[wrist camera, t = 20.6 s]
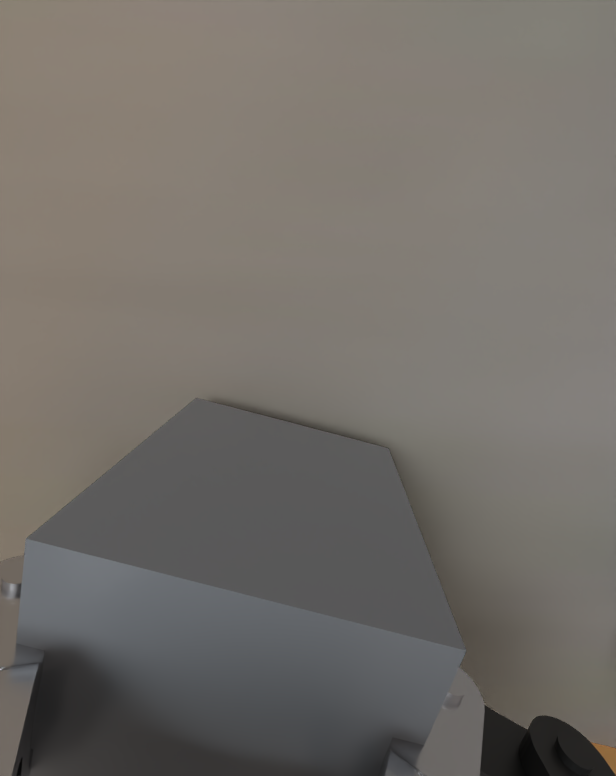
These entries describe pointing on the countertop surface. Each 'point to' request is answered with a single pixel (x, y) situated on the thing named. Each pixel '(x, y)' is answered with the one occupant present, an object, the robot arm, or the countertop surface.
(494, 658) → the countertop surface
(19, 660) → the robot arm
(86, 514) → the plain grey cube
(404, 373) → the countertop surface
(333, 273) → the countertop surface
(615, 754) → the letter cube
